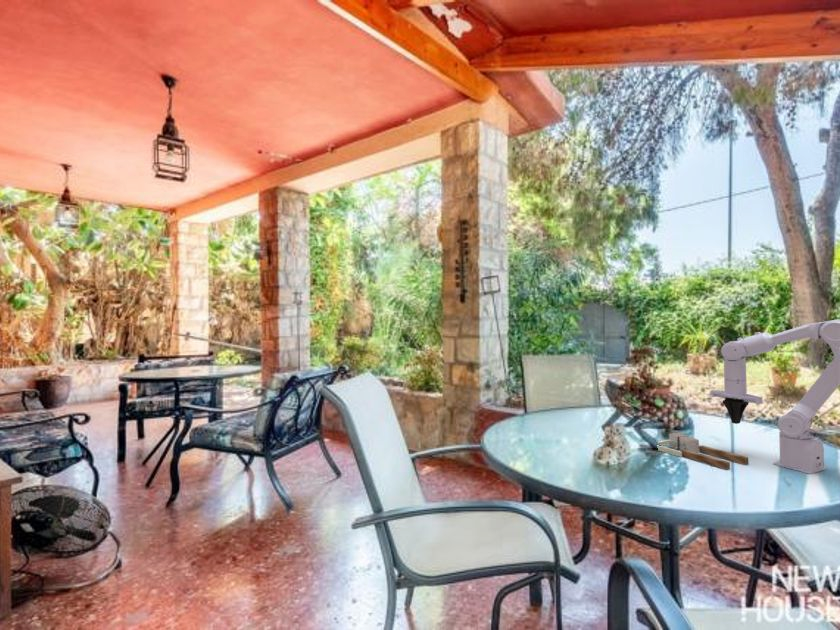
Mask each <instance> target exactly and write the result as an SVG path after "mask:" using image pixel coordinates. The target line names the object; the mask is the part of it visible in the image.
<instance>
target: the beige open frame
mask: <svg viewBox="0 0 840 630" xmlns="http://www.w3.org/2000/svg"><path fill="white" fill-rule="evenodd" d="M657 442H658V443H659V444H661V445H664V446H659V445H657V448H658V450H657V451H659V452H663V453H665V454H669V455H673V456H676V457H679V458H683V457H682V452H681V451H679V450H678V451H677V450H675V449H673V448H671V447H666V446H670V442H669V439H666V440H660V441H657ZM699 446H701V445H700V444H699Z"/></svg>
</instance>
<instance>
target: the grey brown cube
mask: <svg viewBox="0 0 840 630" xmlns="http://www.w3.org/2000/svg"><path fill="white" fill-rule="evenodd" d="M699 440H700V439H698V438H695V437H693V436H689V437H679V450H678V451H680V452H681V450H684V449H685V450H689V451H692V452H696V453H699V454H700V452H699V445H700V442H699Z"/></svg>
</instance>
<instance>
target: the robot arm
mask: <svg viewBox="0 0 840 630" xmlns="http://www.w3.org/2000/svg"><path fill="white" fill-rule="evenodd" d="M805 338H809V339H815V340H821V339H823V341H824V342H825V343H826V344H827V345H828V346H829V347H830V350H831V351H832V353H833V355H834V358H833V359H832V360H831V362H830V363H829V364H828V365H827V366H826V368H825V369H824V371H822V372H821V374H820V375H819V376H818V377H817V379H816V380H815V382H813V384H812V385H811V386H810V388H809V389H808V390H807V392H805V394H804V395H803V397H802V398H801V399H800V400H799V401H798V403H797V404H795V406H794V407H793V408H792V409H790V411H788V412H787V413H786V414H784V415H782V416H780V417H779V419H778V420H777V423H776V424H777V429H778V430H779V432H778V433H779V437H778V438H779V439H778V440H779V460H777V461H774V462H772V464H773V465H774V466H778V467H782V468H787V469H790V470H794V471H797V472H802V473H805V474H810V475H812V474H814V473H818V472H822V471H825V470H826V469H827V468H826V467H825V450H824V449H825V448H824V444H823V442H822V441H821V440H817V439H815V438H813V437H812V434H811V433H810V431H809V430H810V428H812V426H813V419H814V418H815V416H816V415H817V414H818V412H819V410H820V409H821V408H822V407H823V406H824V404H825V403H826V402H827V401H828V400H829V398H830V397H831V396H832V395H833V393H834V392H835V391H836V390H837V389H838V388H839V386H840V318H836V319H833V320H826V321H819V322H813V323H807V324H804V325H800V326H796V327H794V328H791V329H787V330H784V331H781V332H778V333H774V334H770V333H768V332H764V331H763V332H761V331H758V332H757V331H756V332H754V334H753V335H751V336H746V337H738V338H737V339H736V340H733V341H728V342H726V343H724V344H723V345H722V347H721V349H720V352H721V356H722V357H723V378H724V382H723V383H724V384H723V385H724V386H723V387H724V390H716V389H711V390H710V397H713V398H714V397H715V398H721V399H724V400H722V403H723V406H725V408H726V410H727V412H728V414H729V418H730V421H731V424H736V425H737V424H741V421H742V416H743V414H744V412H745V410H746V408H747V407H748V406H749V403H752V404H755V405H762V404H763V396H758V395H755V394H754V395H753V394H749V393H747V391H748V390H747V362H746V360H747V359H746V358H747V357H752V356H756V355H761V354H765V353H769V352H773V351H774V349H775V348H776V346H777V345H781V344H784V343H789V342H793V341H797V340H801V339H805Z"/></svg>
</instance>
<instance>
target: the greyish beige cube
mask: <svg viewBox="0 0 840 630" xmlns="http://www.w3.org/2000/svg"><path fill="white" fill-rule="evenodd" d="M668 436H669V439H668V440H669V442H670V445H669V448H670V449H673V450H677V451H679V437H690V436H689V435H687V434H685V433H684V434H683V433H682V432H680V433H679V432H678V433H677V432H676V433H669V435H668Z"/></svg>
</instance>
